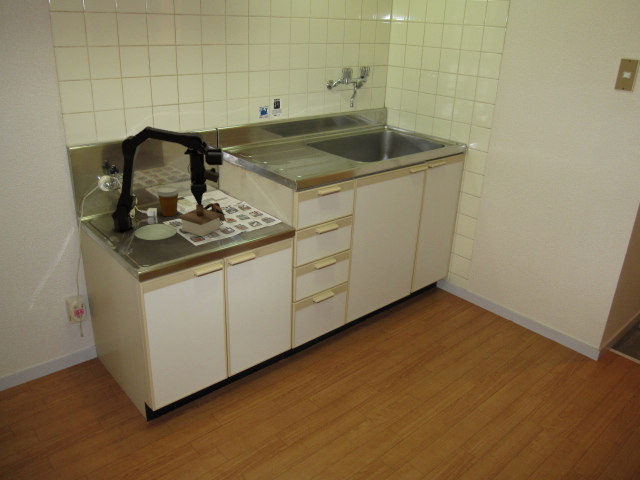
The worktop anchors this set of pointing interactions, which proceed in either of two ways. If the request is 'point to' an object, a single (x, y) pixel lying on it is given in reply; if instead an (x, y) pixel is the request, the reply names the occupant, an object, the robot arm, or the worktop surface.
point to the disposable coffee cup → (168, 200)
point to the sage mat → (155, 231)
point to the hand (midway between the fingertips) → (199, 201)
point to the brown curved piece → (215, 209)
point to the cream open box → (200, 227)
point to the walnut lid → (200, 215)
